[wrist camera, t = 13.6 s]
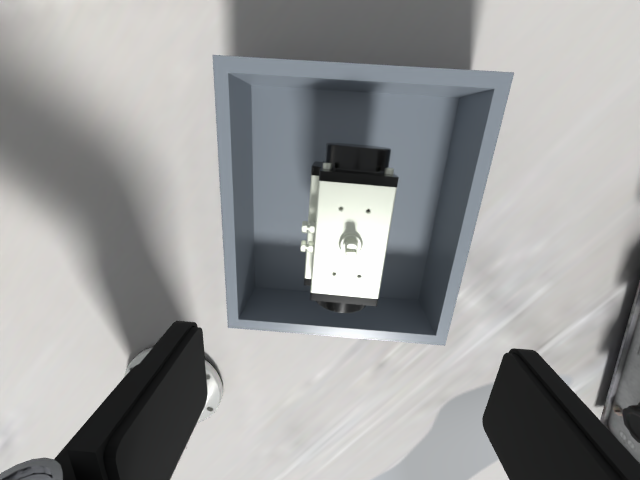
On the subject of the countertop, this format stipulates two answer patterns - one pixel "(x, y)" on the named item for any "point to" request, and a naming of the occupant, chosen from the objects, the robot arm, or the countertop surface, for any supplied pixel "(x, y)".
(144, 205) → the countertop surface
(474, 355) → the countertop surface
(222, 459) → the countertop surface
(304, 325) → the parts bin
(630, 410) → the vintage electronic device
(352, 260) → the pneumatic valve
